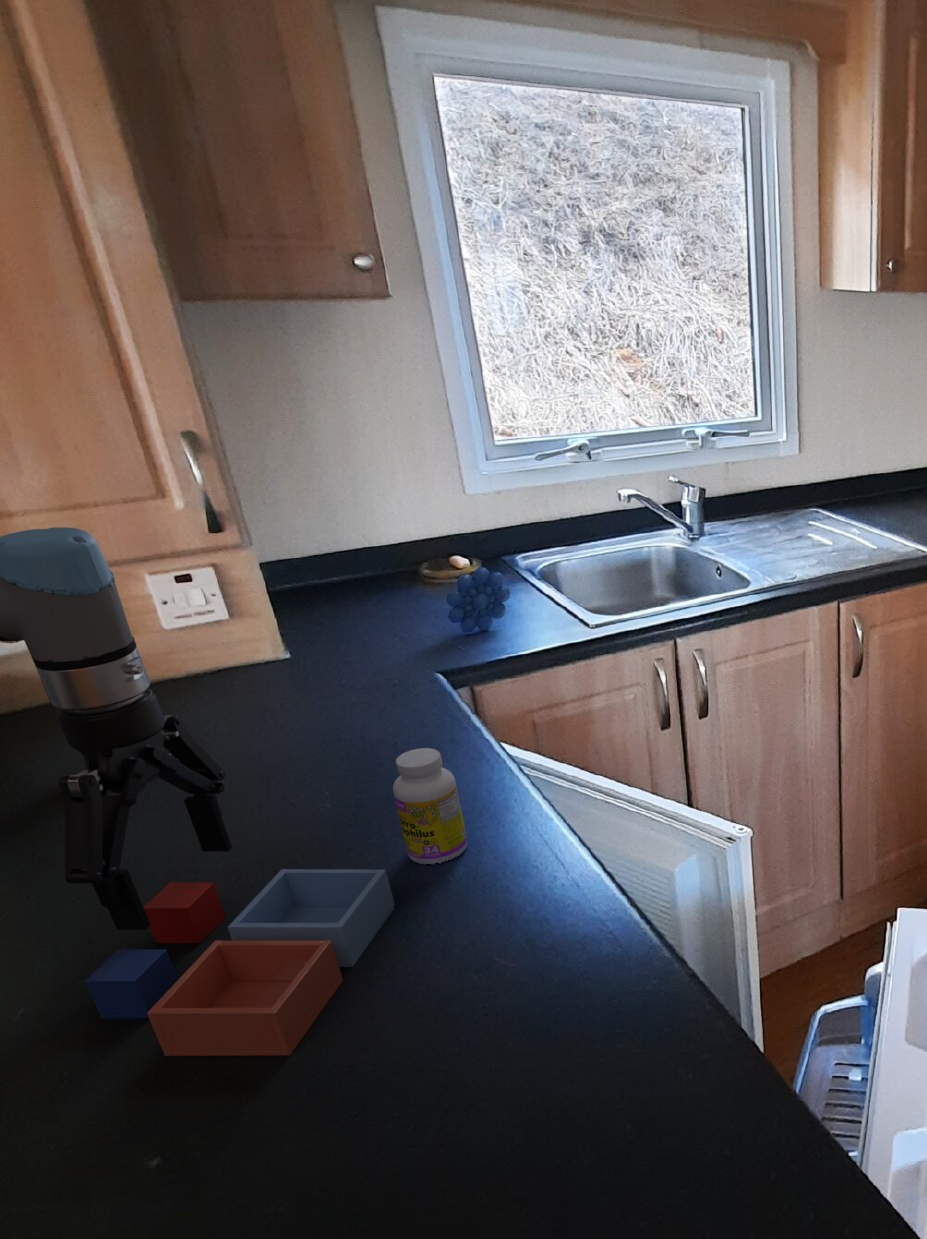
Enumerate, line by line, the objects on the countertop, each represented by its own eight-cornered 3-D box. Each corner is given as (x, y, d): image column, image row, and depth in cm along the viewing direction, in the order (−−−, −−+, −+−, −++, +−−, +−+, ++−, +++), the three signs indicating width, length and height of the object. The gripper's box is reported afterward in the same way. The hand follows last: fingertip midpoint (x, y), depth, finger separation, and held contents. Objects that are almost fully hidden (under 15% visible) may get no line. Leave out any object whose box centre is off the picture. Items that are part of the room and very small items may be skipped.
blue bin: (241, 967, 97) (227, 927, 95) (293, 906, 106) (281, 868, 104) (352, 967, 97) (341, 927, 95) (395, 907, 106) (385, 869, 104)
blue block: (101, 1018, 90) (84, 981, 88) (133, 986, 94) (118, 949, 92) (150, 1018, 90) (134, 981, 88) (181, 985, 94) (166, 949, 92)
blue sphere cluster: (507, 618, 189) (497, 558, 183) (519, 628, 184) (509, 566, 179) (445, 630, 182) (433, 568, 177) (456, 640, 178) (444, 577, 172)
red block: (156, 943, 100) (141, 907, 98) (183, 916, 104) (170, 882, 102) (200, 943, 100) (187, 908, 98) (226, 916, 104) (213, 882, 102)
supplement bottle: (395, 859, 114) (371, 764, 108) (438, 832, 120) (417, 739, 114) (440, 872, 112) (417, 775, 106) (481, 843, 118) (462, 750, 112)
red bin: (164, 1056, 86) (146, 1013, 84) (229, 980, 95) (214, 940, 93) (290, 1055, 87) (275, 1013, 84) (343, 980, 95) (331, 940, 93)
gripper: (44, 761, 79) (134, 965, 88) (224, 648, 101) (280, 822, 111) (-50, 761, 79) (50, 966, 88) (151, 649, 101) (213, 822, 111)
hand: (178, 886), depth 99 cm, fingers open, 13 cm apart
